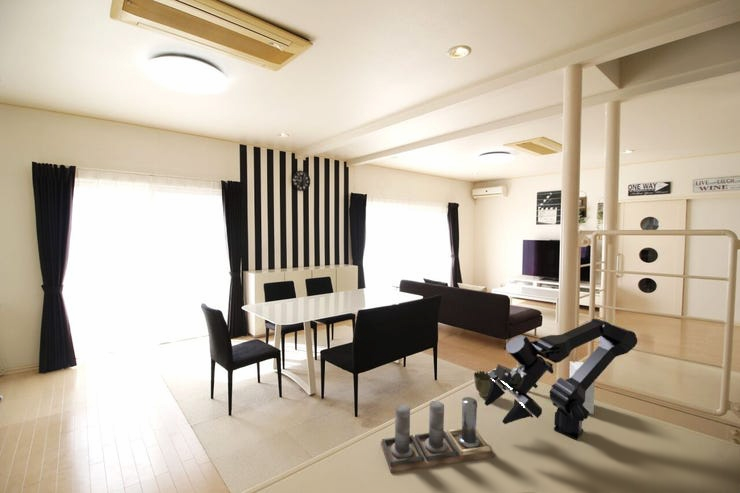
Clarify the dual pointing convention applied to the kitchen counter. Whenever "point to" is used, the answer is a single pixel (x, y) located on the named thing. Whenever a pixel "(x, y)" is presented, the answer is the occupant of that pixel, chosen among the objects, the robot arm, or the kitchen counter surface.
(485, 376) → the cup
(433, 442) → the pin board
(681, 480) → the kitchen counter surface
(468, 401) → the grey cylindrical piece
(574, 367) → the skincare box
